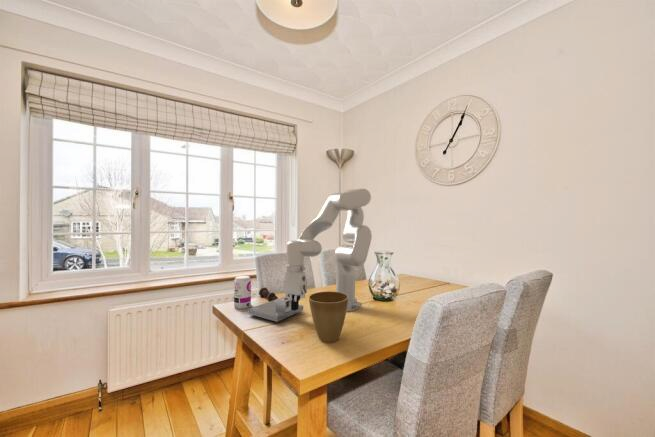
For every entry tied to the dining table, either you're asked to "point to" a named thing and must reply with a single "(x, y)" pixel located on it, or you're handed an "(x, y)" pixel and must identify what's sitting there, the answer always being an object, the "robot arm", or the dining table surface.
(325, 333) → the plant pot
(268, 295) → the bolt
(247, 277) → the supplement can
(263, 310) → the grey mounting base
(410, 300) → the dining table surface
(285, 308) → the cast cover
